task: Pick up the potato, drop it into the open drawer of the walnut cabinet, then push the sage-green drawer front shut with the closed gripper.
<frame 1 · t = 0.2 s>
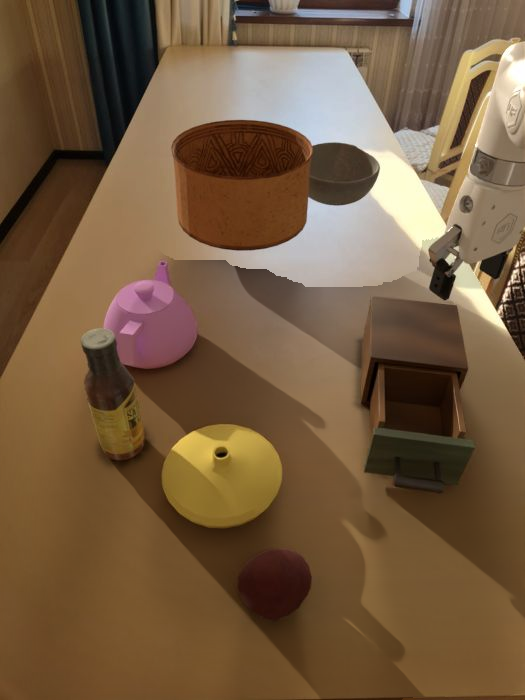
hand: (464, 284, 74), 19 cm above the table, tool pointing down, fingers open, 9 cm apart
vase: (223, 484, 73), on the table
drawer: (414, 433, 73), point 5 cm above the table, slide at 12.0 cm
cabinet: (403, 376, 88), on the table
teapot: (153, 343, 93), on the table
pot: (242, 235, 120), on the table
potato: (273, 595, 62), on the table
bowl: (332, 199, 133), on the table
sauce bottle: (124, 444, 77), on the table
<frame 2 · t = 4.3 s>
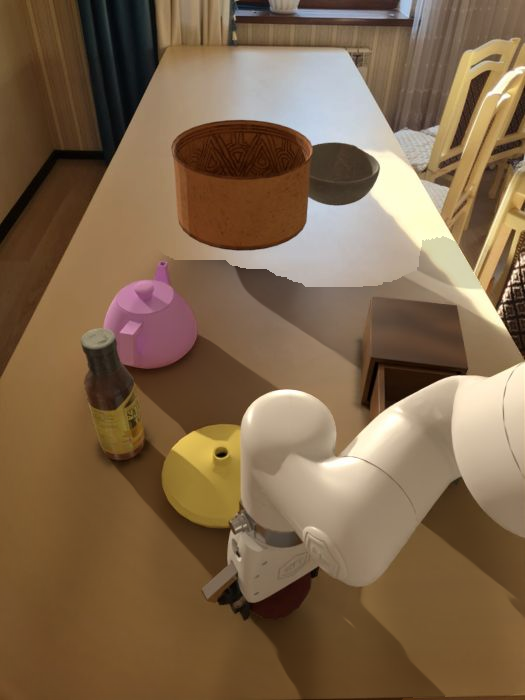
hand: (274, 586, 61), 2 cm above the table, tool pointing down, fingers closed on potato, 8 cm apart
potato: (273, 595, 62), on the table, touching gripper
everything else where it was.
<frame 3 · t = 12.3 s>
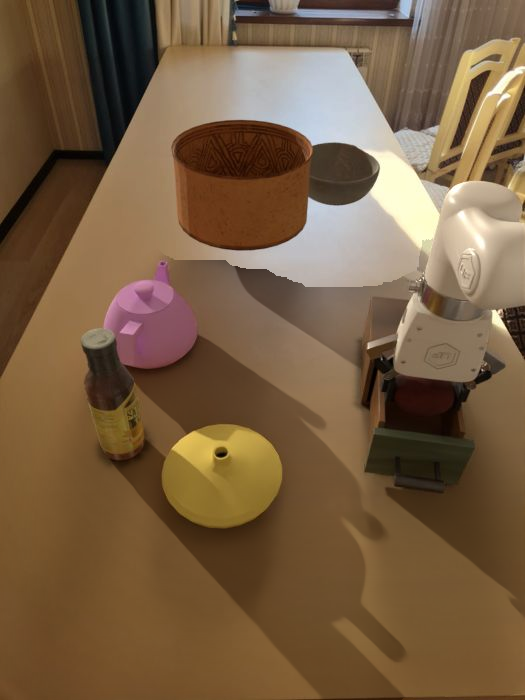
hand: (421, 398, 73), 9 cm above the table, tool pointing down, fingers closed on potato, 8 cm apart
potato: (416, 408, 74), point 7 cm above the table, touching gripper
everything else where it was.
when the fingers open (11 cm above the table, at t = 30.8 s): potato drops 7 cm, resting on drawer.
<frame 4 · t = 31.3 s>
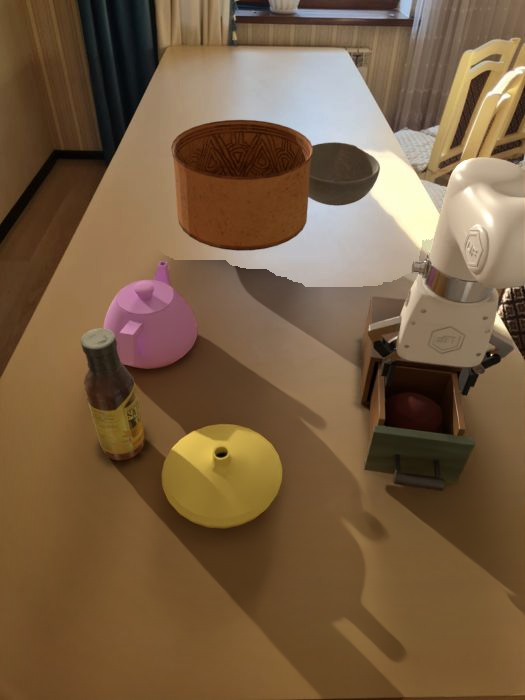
hand: (424, 383, 71), 12 cm above the table, tool pointing down, fingers open, 9 cm apart
drawer: (414, 430, 74), point 5 cm above the table, slide at 11.6 cm, touching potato
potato: (406, 431, 78), point 2 cm above the table, touching drawer
everything else where it was.
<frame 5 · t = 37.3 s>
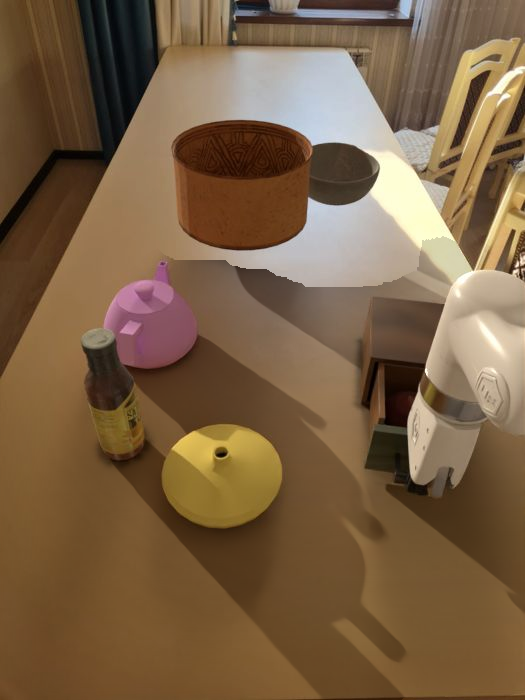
hand: (419, 488, 66), 5 cm above the table, tool pointing down, fingers closed
drawer: (414, 429, 74), point 5 cm above the table, slide at 11.4 cm, touching gripper, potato
everything else where it was.
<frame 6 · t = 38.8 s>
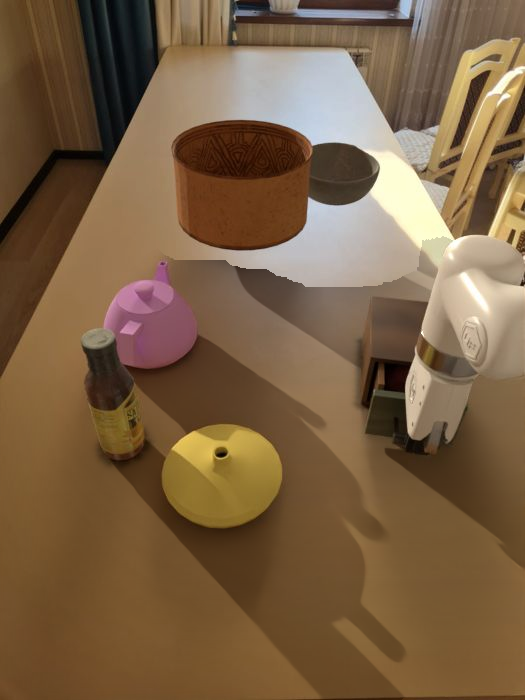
hand: (416, 448, 71), 5 cm above the table, tool pointing down, fingers closed
drawer: (412, 396, 78), point 5 cm above the table, slide at 5.3 cm, touching gripper, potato
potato: (404, 399, 82), point 2 cm above the table, touching drawer
everything else where it was.
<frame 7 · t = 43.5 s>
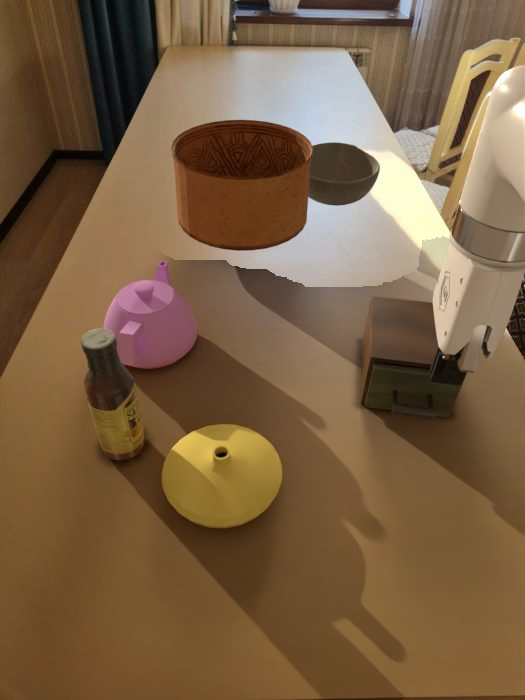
hand: (445, 378, 59), 21 cm above the table, tool pointing down, fingers closed
drawer: (410, 371, 82), point 5 cm above the table, slide at 0.1 cm, touching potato
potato: (403, 375, 86), point 2 cm above the table, touching drawer
everything else where it was.
at the end: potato inside the target area in the cabinet (1.6 cm from its centre), point 1.8 cm above the cabinet's base; drawer slide at 0.1 cm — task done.
